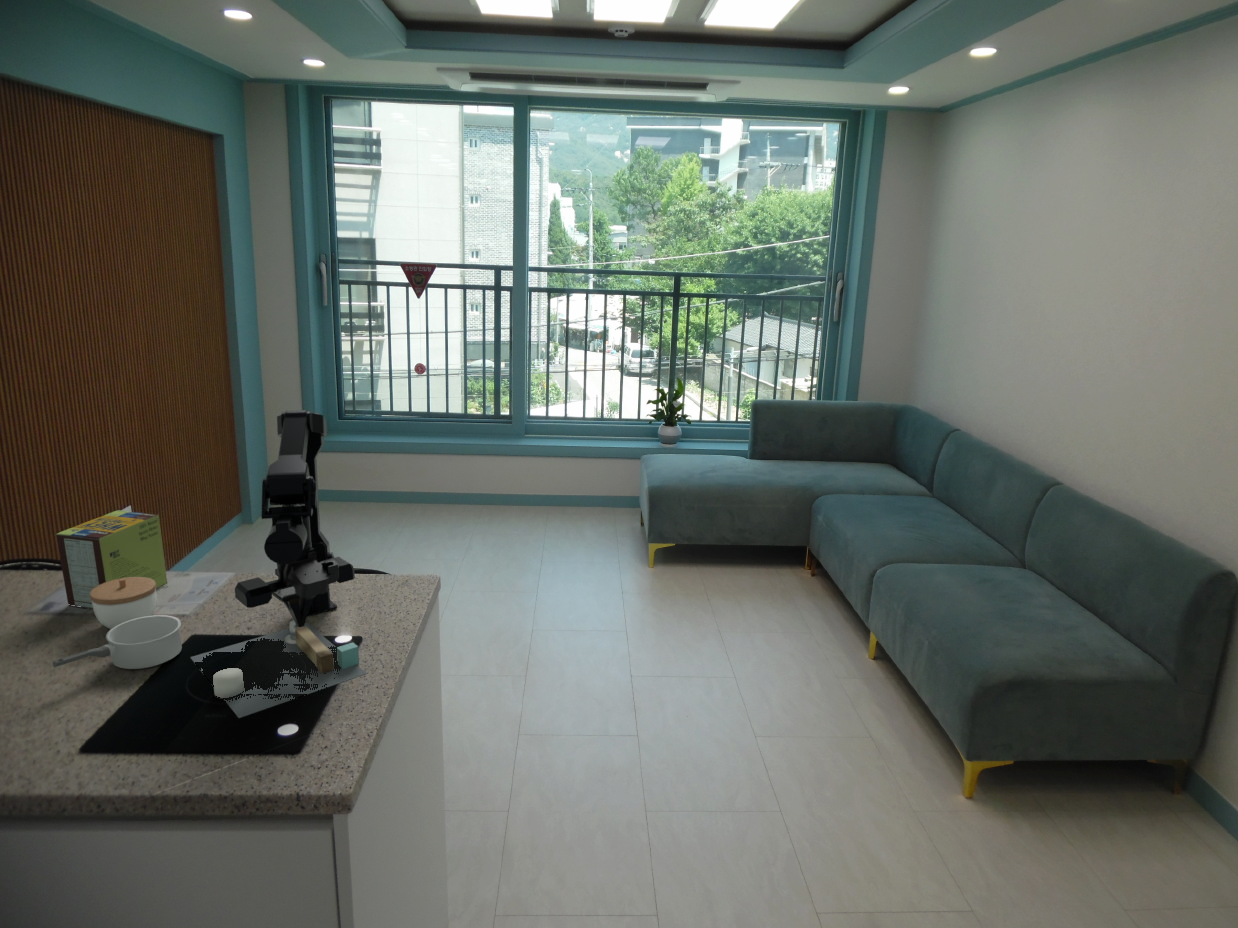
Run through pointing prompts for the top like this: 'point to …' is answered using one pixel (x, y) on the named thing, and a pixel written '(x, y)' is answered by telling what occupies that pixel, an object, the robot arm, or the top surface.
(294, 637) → the hinge pin
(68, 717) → the top surface
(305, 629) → the wooden block
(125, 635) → the saucepan
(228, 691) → the door stop
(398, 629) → the top surface
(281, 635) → the mat
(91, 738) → the top surface
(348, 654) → the teal rectangular block
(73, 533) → the protein box
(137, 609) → the lidded jar
